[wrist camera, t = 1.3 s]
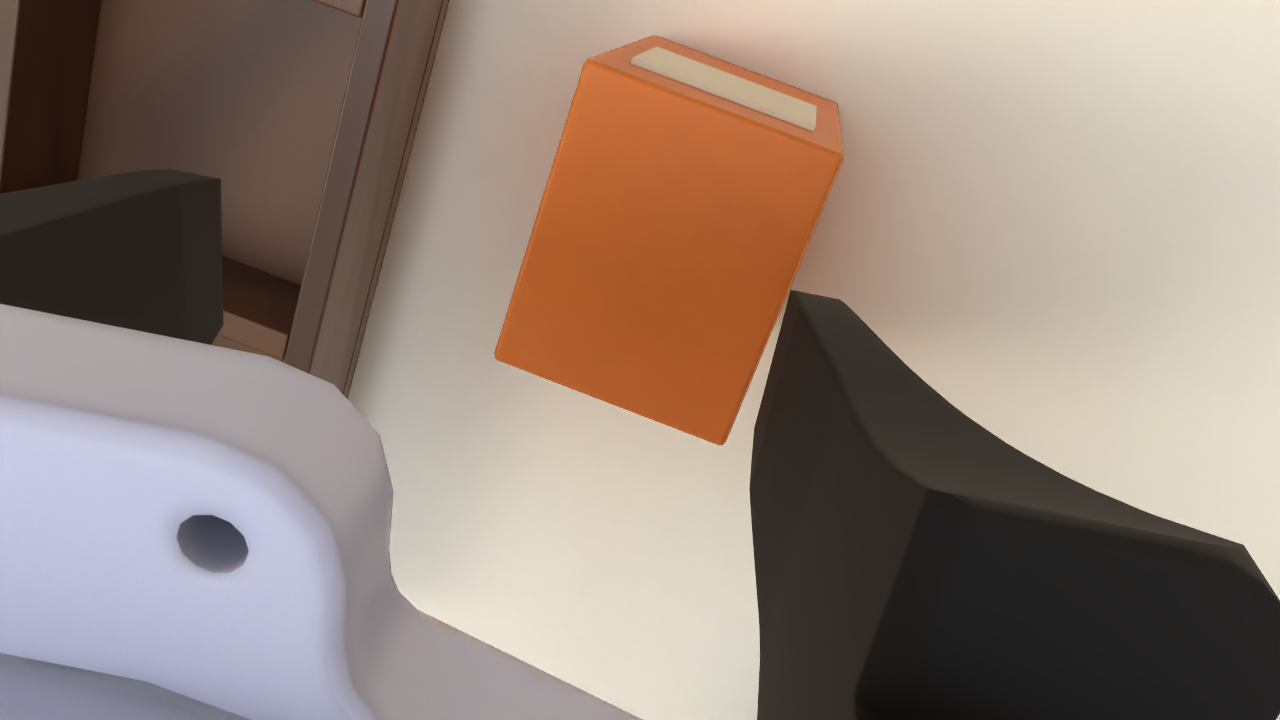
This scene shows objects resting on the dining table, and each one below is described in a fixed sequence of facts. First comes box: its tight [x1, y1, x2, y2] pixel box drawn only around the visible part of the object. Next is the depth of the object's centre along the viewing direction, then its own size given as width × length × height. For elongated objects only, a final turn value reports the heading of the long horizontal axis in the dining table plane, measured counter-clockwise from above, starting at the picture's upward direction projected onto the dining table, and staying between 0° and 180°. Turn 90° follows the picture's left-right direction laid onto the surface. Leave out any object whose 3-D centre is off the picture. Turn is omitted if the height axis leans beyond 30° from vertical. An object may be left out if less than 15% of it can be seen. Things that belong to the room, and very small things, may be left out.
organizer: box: [0, 0, 449, 398], centre depth 22 cm, size 8×22×3 cm, turn 161°
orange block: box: [494, 36, 843, 445], centre depth 19 cm, size 4×5×6 cm
